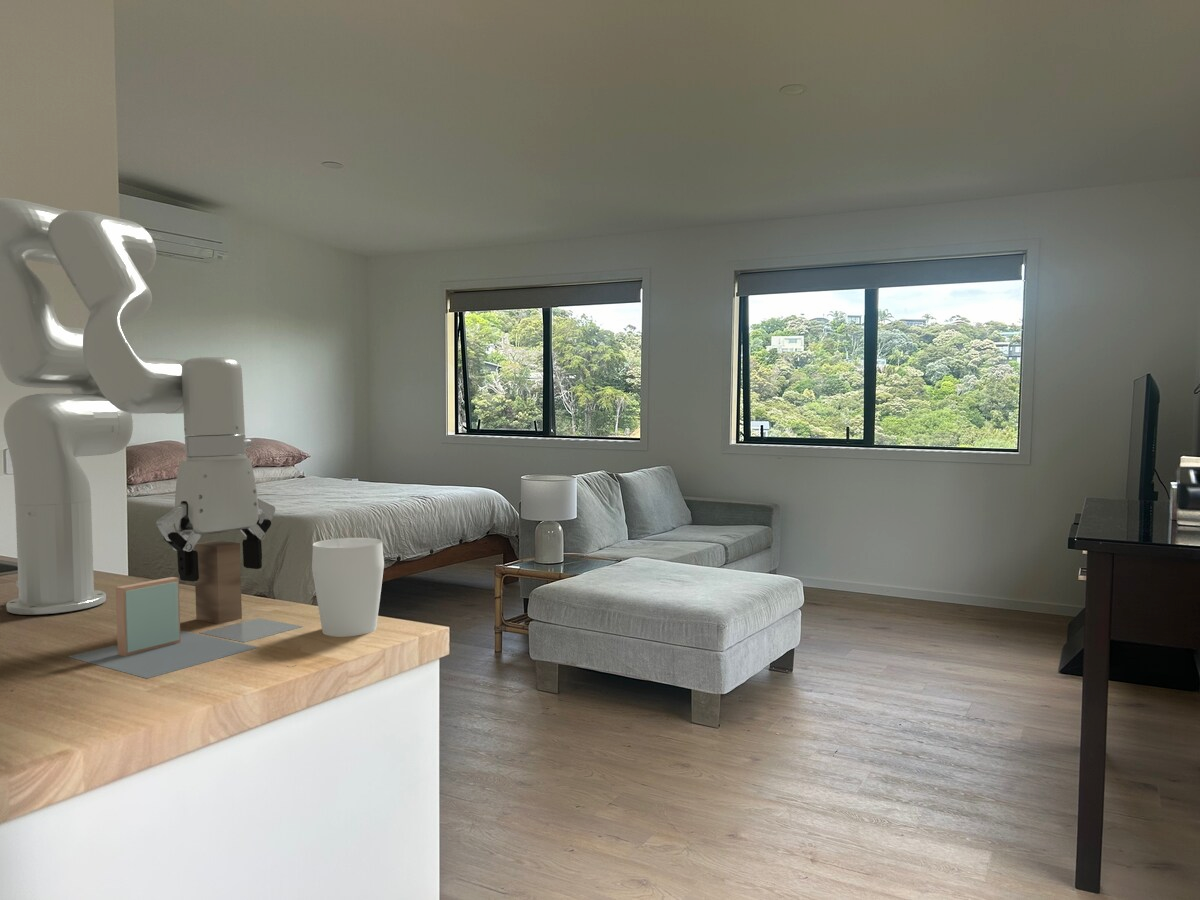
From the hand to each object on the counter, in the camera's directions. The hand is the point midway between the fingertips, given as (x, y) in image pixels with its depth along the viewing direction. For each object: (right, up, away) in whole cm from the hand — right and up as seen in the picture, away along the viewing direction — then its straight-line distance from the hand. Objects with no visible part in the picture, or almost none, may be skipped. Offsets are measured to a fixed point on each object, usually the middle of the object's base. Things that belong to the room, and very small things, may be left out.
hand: (222, 574), depth 119 cm
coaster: (+6, -7, -5) cm, 11 cm away
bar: (-1, -7, +1) cm, 7 cm away
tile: (-3, -7, -14) cm, 16 cm away
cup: (+19, -7, -6) cm, 21 cm away
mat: (0, -8, -16) cm, 17 cm away
